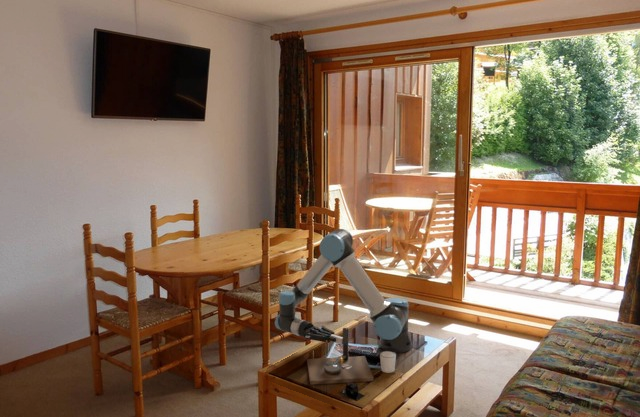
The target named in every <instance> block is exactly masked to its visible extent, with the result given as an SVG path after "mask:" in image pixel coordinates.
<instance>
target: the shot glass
mask: <svg viewBox="0 0 640 417" xmlns="http://www.w3.org/2000/svg"><path fill="white" fill-rule="evenodd" d="M396 358H397V354H396V353H395V352H391V351H385V350H384V351H381V352H380V353H379V359H380V370H381V371H382V372H383V373H386V374H387V373H388V374H389V373H394V372H395V371H396V370H395V368H396V361H397V359H396Z"/></svg>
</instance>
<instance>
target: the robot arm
mask: <svg viewBox="0 0 640 417" xmlns="http://www.w3.org/2000/svg"><path fill="white" fill-rule="evenodd" d="M353 244H354V238H353V236H352V233H350V232H349V231H348V230H346V229H345V228H337V229H335V230H333V231H331V232H329V233H328V234H326V235H325V236H324V237H323V238H322V239H321V241H320V244H319V253H320V255H319V257H318V258H317V259H316V261H314V263H313V264H312V265H311V267H310V268H309V269H308V270H307V271H306V273H305V274H304V275H303V276H302V278H301V279H300V280H299V281H298V282H297V284H296V285H295V286H294V287H293V289H292V290H284V291H281V292H280V293H279V295H278V296H279V297H278V299H279V300H278V305H279V306H278V307H279V308H278V309H279V314H277V315H276V317H275V320H274V326H275V328H276V329H278V330H280V331H282V332H286V333H289V334H292V335H296V336H297V337H301V338H304V339H305V340H311V341H317V342H322V343H326V342H327V343H328V344H329V343H331V342H333V343H336V344H339V345H343V336H341V335H340V336H339V335H336V334H335V331H333V330H331V329H330V328H327V327H325V326H324V325H321V327H318V326H314V324H313V322H311V321H309V320H305V319H300V318H297V317H296V307H298V305H300V304H302V302H304V301H305V300H306V299H307V297H308V295H309V294H310V293H311V292H312V290H313V289H314V288H315V287H316V285H318V283H319V282H320V281H321V280H322V279H323V277H324V276H325V275H326V274H327V272H328V271H330V269H331V268H332V267H335V268H339V270H340V271H341V272H342V273H343V275H344V277H345V278H346V279H347V281H348V282H349V284H350V286H351V287H352V288H353V289H354V291H355V292H356V294H357V296H358V297H359V298H360V300H361V301H362V302H363V304H364V306H365V307H366V308H367V309H368V311H369V316H368V317H369V318H370V320H371V322H372V323H373V329H374V332H375V334H376V335H377V336H378V337H379V338H380V339H379V348H381V349H382V350H384V351H391V352H394V353H395V354H396V353H398V354H399V353H405V352H408V351H410V350H411V349H412V347H413V346H412V345H413V343H412V340H411V336H410V333H409V308H410V306H409V301H408V300H407V299H403V298H399V297H397V298H396V297H389V298H384V297H383V295H382V293H381V292H380V291H379V289H378V288H377V287H376V285H375V284H374V282H373V280H371V278H370V276H369V275H368V274H367V272H366V271H365V269H364V268H363V267H362V265H361V263H360V262H359V261H358V260H357V258H356V256H355V255H356V250H355V249H354V248H353Z"/></svg>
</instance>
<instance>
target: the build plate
mask: <svg viewBox="0 0 640 417" xmlns="http://www.w3.org/2000/svg"><path fill="white" fill-rule="evenodd" d="M358 386H359V385H358V384H356V382H346V384H345V386H344V387H345V388H343V389H342V390H339V392H337V393H338V394H340V395H343V396H344V397H347V398H348V399H351V400H353V401H354V402H357V401H359V400H361V399H363V398H365V397H366V394H362V393H360V392H359V387H358Z"/></svg>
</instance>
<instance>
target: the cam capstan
mask: <svg viewBox="0 0 640 417" xmlns="http://www.w3.org/2000/svg"><path fill="white" fill-rule="evenodd" d="M342 337H343V344H342V355H340V356H338V357H339V358H338V359H337V360H336V361H330V362H327V363H325V365H324V371H325V372H326V373H328V374H338V373H340V372H341V363H343V360H348V357H349V328H348V327H343V328H342Z"/></svg>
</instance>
